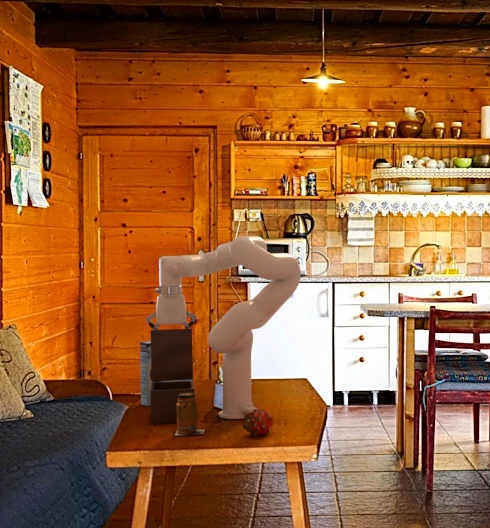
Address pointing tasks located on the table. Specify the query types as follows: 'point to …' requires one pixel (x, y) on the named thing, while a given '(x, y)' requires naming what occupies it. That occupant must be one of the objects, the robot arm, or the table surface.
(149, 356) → the gum box
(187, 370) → the dark brown upright block
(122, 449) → the table surface
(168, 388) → the chest
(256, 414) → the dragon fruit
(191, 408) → the condiment
